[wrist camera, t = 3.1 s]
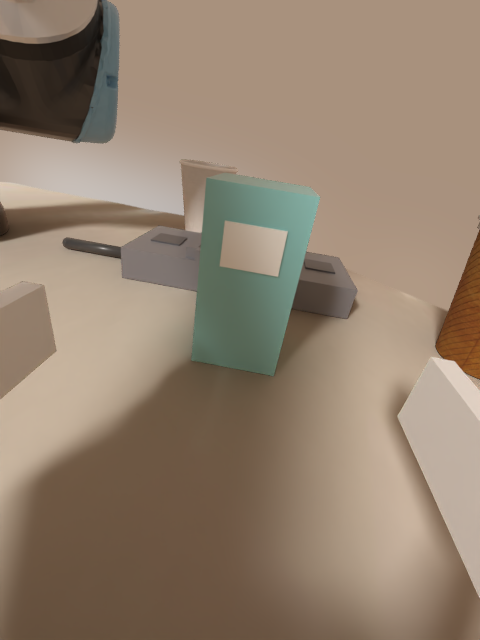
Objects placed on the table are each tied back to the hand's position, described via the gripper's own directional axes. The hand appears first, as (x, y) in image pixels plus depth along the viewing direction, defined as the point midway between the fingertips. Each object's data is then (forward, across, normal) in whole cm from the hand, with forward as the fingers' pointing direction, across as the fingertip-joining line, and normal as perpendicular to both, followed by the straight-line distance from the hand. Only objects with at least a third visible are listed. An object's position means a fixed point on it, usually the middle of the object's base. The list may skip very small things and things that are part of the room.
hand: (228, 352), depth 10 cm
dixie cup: (+39, -9, -6) cm, 40 cm away
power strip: (+23, -6, -6) cm, 24 cm away
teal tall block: (+10, 0, -6) cm, 12 cm away
